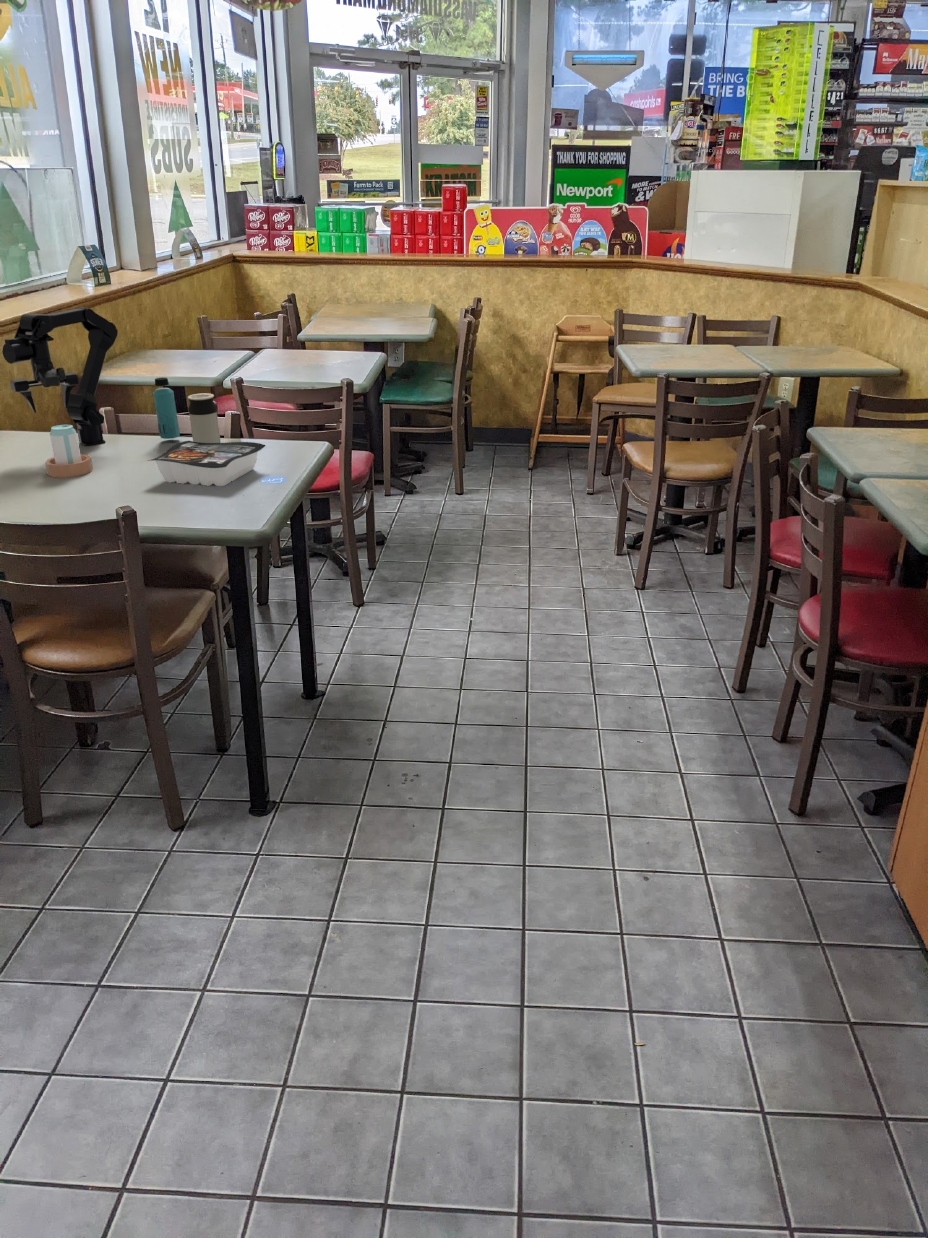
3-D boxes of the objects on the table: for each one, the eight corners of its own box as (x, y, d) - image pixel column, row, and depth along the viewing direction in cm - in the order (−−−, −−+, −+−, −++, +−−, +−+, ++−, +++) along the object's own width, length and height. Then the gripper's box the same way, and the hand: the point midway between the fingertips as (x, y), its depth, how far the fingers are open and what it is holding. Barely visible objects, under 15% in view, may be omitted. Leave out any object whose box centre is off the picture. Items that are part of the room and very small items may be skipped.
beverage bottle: (184, 438, 316) (175, 375, 308) (176, 443, 310) (167, 379, 302) (164, 438, 317) (155, 375, 308) (156, 443, 311) (146, 379, 302)
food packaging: (144, 458, 267) (188, 438, 287) (148, 485, 270) (192, 463, 290) (225, 464, 260) (265, 442, 280) (229, 491, 263) (268, 468, 283)
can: (55, 466, 284) (46, 425, 279) (80, 463, 287) (72, 422, 282) (58, 472, 279) (50, 430, 274) (84, 468, 282) (76, 427, 277)
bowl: (84, 463, 291) (82, 451, 289) (98, 471, 282) (95, 460, 281) (43, 470, 284) (40, 459, 283) (55, 479, 276) (52, 467, 274)
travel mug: (215, 459, 292) (207, 398, 284) (190, 458, 293) (182, 398, 286) (226, 452, 299) (219, 393, 291) (202, 451, 300) (194, 392, 293)
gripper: (14, 365, 280) (26, 419, 287) (80, 357, 291) (90, 410, 297) (4, 360, 289) (15, 413, 295) (69, 353, 299) (78, 404, 305)
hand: (50, 410), depth 298 cm, fingers open, 9 cm apart
